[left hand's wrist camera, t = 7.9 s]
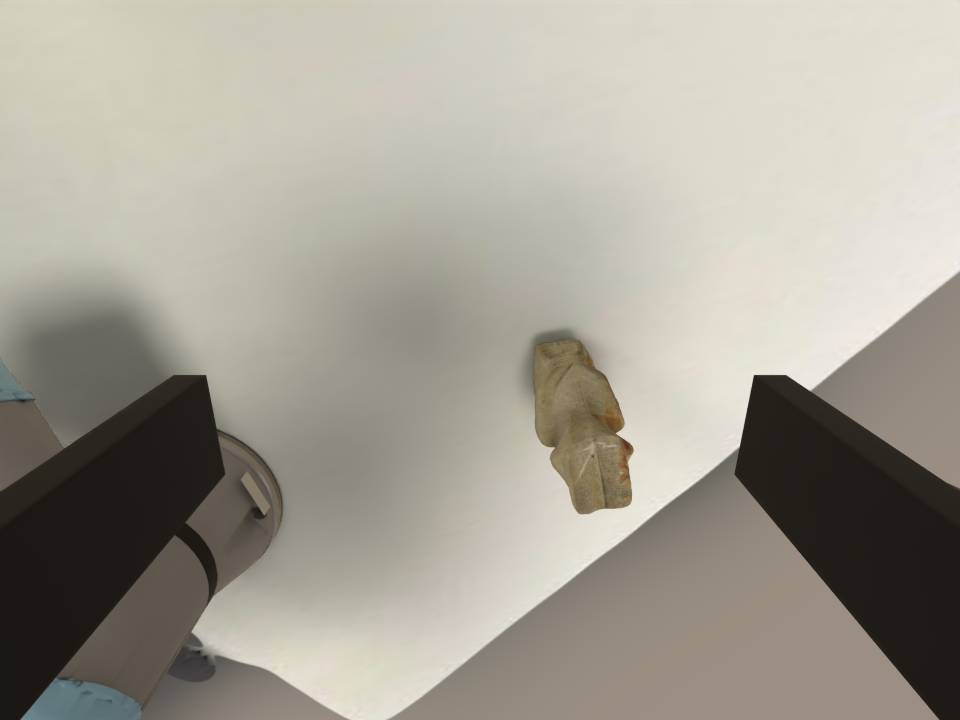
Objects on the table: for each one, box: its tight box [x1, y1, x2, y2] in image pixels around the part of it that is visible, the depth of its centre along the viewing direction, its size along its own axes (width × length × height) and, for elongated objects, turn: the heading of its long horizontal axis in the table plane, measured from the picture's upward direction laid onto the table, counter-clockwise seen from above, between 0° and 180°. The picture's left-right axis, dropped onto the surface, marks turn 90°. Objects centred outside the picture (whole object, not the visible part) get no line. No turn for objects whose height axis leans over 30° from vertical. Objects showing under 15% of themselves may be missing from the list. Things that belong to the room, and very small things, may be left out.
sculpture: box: [533, 339, 633, 514], centre depth 36 cm, size 6×7×15 cm
